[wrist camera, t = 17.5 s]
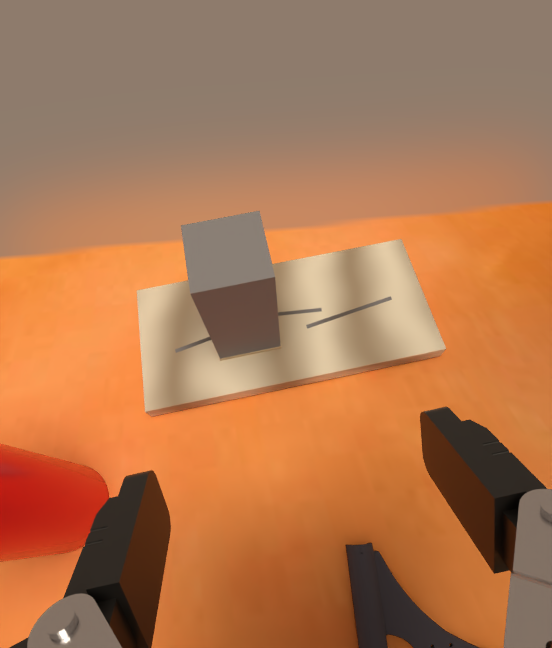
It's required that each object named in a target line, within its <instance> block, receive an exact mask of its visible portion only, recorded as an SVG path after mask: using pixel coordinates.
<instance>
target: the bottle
mask: <svg viewBox="0 0 552 648" xmlns="http://www.w3.org/2000/svg"><path fill="white" fill-rule="evenodd" d="M108 499H109V495H108V490H107V486H106V484H105V482H104V480H103V478H102V477H101V476H100V475H99V474H98V473H97V472H96V471H95V470H93V469H91V468H89V467H86V466H83V465H79V464H75V463H72V462H68V461H64V460H60V459H56V458H53V457H49V456H45V455H41V454H37V453H34V452H30V451H26V450H22V449H19V448H15V447H11V446H7V445H3V444H0V562H2V561H10V560H17V559H24V558H31V557H39V556H46V555H53V554H61V553H67V552H71V551H74V550H76V549H78V548H80V547H82V546H84V545H85V542H86V539H87V537H88V534H89V533H90V529H91V526H92V524H93V521H94V519H95V516H96V514H97V513H98V511H99V510H100V509H101V508H102V506H103V505H104V504H105V503H106V502H107V500H108Z"/></svg>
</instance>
